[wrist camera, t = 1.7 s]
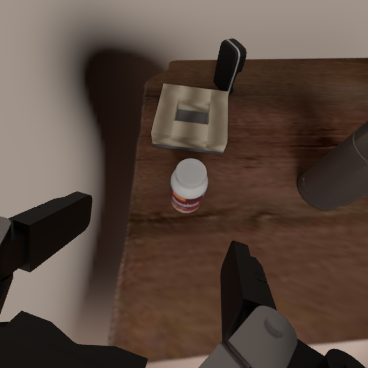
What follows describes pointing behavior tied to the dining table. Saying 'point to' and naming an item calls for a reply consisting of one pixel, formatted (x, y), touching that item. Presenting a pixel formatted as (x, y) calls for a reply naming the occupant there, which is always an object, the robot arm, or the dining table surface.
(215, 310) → the dining table surface
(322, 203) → the robot arm
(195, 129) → the socket block
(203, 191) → the pill bottle
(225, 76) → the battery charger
